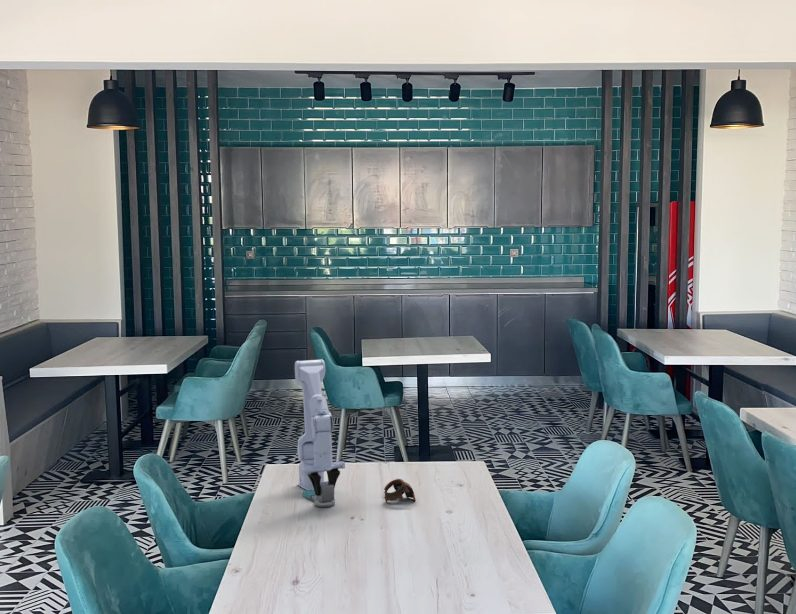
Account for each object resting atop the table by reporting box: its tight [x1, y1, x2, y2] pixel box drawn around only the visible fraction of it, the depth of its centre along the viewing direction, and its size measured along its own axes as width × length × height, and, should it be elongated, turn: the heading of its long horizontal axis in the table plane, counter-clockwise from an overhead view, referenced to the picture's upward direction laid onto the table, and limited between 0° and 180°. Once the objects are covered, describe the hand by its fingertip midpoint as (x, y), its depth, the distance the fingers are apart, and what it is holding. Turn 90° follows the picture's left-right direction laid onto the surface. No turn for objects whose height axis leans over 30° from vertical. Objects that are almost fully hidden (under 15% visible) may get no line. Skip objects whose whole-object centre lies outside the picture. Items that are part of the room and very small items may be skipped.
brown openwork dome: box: [383, 478, 417, 503], centre depth 271 cm, size 12×10×8 cm
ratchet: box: [302, 489, 336, 509], centre depth 273 cm, size 16×6×4 cm, turn 32°
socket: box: [316, 481, 335, 502], centre depth 268 cm, size 4×4×5 cm
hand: (324, 493), depth 268 cm, fingers closed on socket, 4 cm apart
